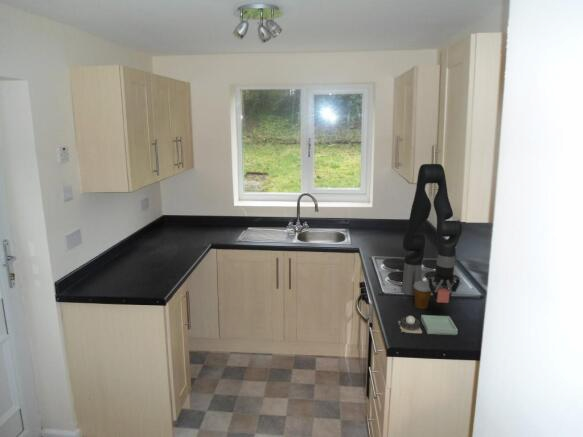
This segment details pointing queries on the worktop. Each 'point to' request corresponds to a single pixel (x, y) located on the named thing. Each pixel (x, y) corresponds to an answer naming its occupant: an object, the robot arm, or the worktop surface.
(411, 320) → the dome
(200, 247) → the worktop surface
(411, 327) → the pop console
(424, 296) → the disposable coffee cup
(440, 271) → the robot arm
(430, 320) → the tray
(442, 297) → the cube
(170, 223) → the worktop surface
